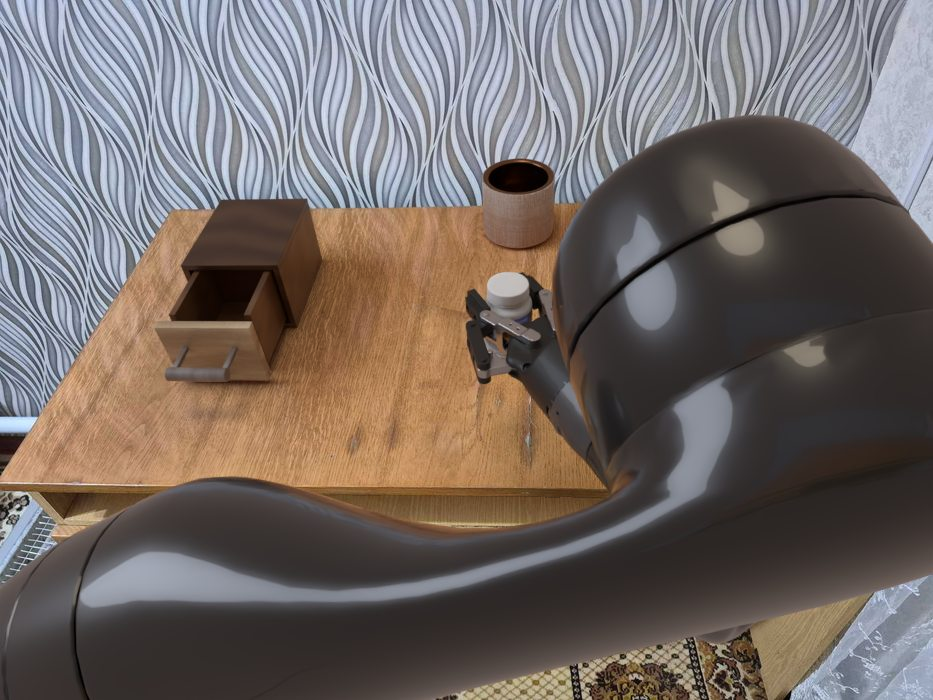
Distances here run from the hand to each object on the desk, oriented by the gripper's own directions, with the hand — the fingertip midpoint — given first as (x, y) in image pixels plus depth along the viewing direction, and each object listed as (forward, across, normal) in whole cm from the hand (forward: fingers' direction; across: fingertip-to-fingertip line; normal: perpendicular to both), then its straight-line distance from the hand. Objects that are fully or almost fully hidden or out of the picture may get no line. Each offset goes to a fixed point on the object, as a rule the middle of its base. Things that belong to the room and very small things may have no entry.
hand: (494, 288), depth 66 cm
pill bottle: (-3, 0, +6) cm, 7 cm away
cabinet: (+35, +19, +17) cm, 44 cm away
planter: (+30, -20, +17) cm, 40 cm away
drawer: (+23, +26, +17) cm, 38 cm away
